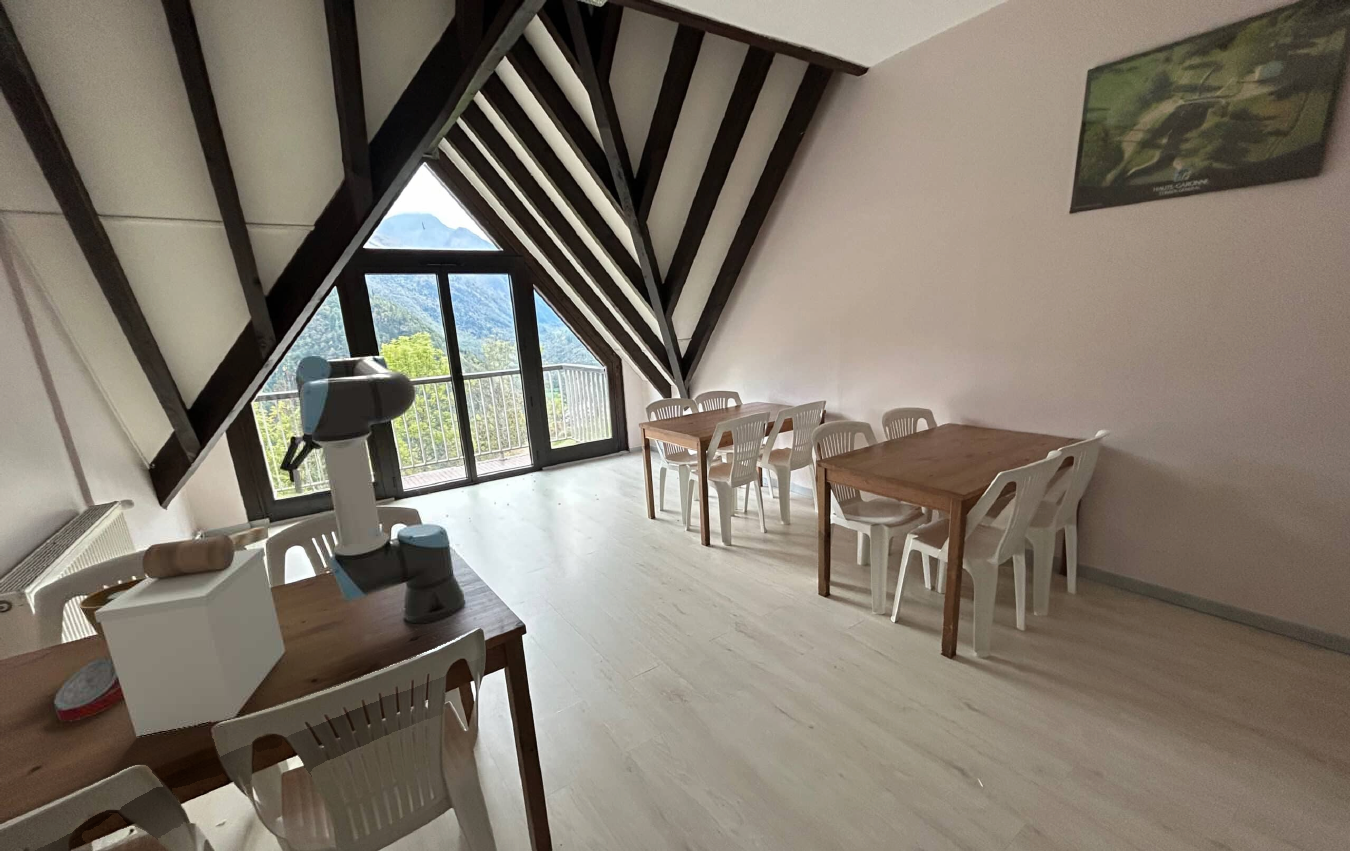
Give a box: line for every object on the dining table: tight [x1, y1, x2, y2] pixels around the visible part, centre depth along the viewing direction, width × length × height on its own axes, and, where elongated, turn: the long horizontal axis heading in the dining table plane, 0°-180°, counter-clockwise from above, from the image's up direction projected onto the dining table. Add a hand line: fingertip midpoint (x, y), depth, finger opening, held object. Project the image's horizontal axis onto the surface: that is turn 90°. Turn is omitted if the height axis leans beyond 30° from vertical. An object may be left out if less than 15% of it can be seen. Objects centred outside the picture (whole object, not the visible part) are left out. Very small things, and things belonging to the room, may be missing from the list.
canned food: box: [53, 656, 124, 722], centre depth 108 cm, size 11×10×10 cm
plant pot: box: [78, 576, 148, 646], centre depth 126 cm, size 15×15×16 cm
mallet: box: [142, 526, 269, 579], centre depth 118 cm, size 30×12×7 cm, turn 15°
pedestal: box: [94, 547, 286, 737], centre depth 108 cm, size 22×17×27 cm
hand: (326, 487), depth 146 cm, fingers open, 13 cm apart
